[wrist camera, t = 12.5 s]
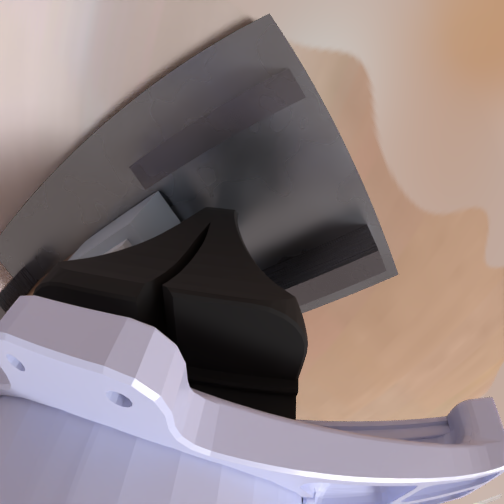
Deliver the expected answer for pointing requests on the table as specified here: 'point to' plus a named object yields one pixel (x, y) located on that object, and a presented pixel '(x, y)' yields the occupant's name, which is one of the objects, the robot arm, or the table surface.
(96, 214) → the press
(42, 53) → the table surface
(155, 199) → the ram
